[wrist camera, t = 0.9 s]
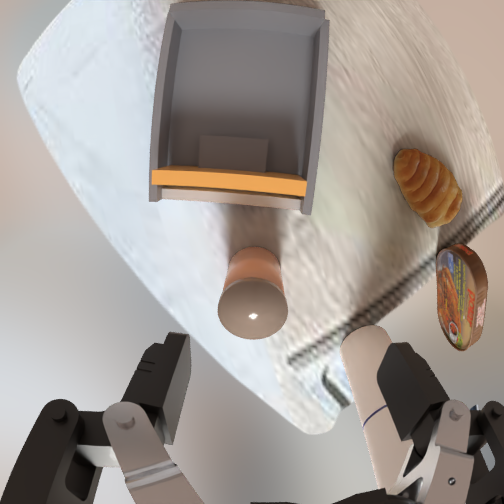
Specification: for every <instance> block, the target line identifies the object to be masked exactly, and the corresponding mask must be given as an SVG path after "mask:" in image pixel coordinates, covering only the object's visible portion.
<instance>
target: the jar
mask: <svg viewBox="0 0 504 504" xmlns="http://www.w3.org/2000/svg"><path fill="white" fill-rule="evenodd" d="M287 315H288V307H287V301H286V298H285V295H284V289H283V282H282V276H281V269H280V264H279V262H278V260H277V258H276V257H275V255H274V254H273V253H271V252H270V251H269V250H267V249H264V248H261V247H247V248H244V249H242V250H240V251H238V252H237V253H236V254H235V255H234V256H233V257H232V259H231V261H230V263H229V267H228V271H227V275H226V280H225V284H224V288H223V292H222V294H221V297H220V300H219V304H218V316H219V319H220V321H221V323H222V325H223V326H224V327H225V328H226V329H227V330H228V331H229V332H230V333H232V334H234V335H236V336H238V337H241V338H244V339H262V338H266V337H269V336H271V335H273V334H274V333H276V332H277V331H278V330H280V329H281V327H282V326H283V325H284V323H285V321H286V319H287Z"/></svg>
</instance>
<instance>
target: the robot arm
mask: <svg viewBox="0 0 504 504" xmlns="http://www.w3.org/2000/svg"><path fill="white" fill-rule="evenodd" d="M430 369H431V368H430V367H429V365H428V364H427V362H426V360H425V359H423V358H422V357H421V356H420V355H419V354H417V353H415V352H414V350H413V349H412V347H411V345H410V344H409V343H407V342H402V343H391V344H390V345H389V346H388V348H387V351H386V353H385V355H384V358H383V360H382V362H381V364H380V366H379V369H378V371H377V383H378V386H379V388H380V390H381V393H382V395H383V398H384V400H385V402H386V405H387V407H388V409H389V412H390V414H391V417H392V419H393V422H394V424H395V427H396V429H397V432H398V434H399V437H400V440H401V442H402V441H407V440H410V439H412V441H413V443H412V444H411V446H410V448H409V450H408V453H407V456H406V458H405V461H404V464H403V466H402V469H401V471H400V473H399V476H398V478H397V480H396V482H395V484H394V485H393V486H392V488H391V489H390V490H389V491H388V493H386V489H385V488H381V489H377V490H373V491H369V492H365V493H360V494H355V495H353V496H351V497H348V498H346V499H343V500H341V501H338V502H335V503H333V504H465V502H466V504H504V406H503V405H501V404H500V403H499V402H496V401H490V402H488V403H486V405H485V406H484V408H483V409H482V410H469V409H468V407H467V406H466V405H465V404H464V403H463V402H460V401H458V400H450V399H449V397H448V395H447V394H446V392H445V390H444V389H443V387H442V385H441V384H440V382H439V381H438V379H437V378H436V377H435V374H434V373H433V372H432V370H430ZM190 375H191V351H190V337H189V334H182V333H175V332H169V333H168V335H167V337H166V339H165V342H164V344H159V343H154V344H153V345H151V346H150V347H149V348H148V349H146V350H145V352H144V354H143V356H142V358H141V362H139V364H138V366H137V370H136V371H135V373H134V375H133V377H132V379H131V381H130V383H129V385H128V387H127V389H126V392H125V394H124V396H123V398H122V400H121V401H120V402H118V403H115V404H113V405H111V406H110V407H109V408H107V409H106V411H102V412H92V411H78V410H77V408H76V406H75V405H74V404H73V403H72V402H70V401H68V400H65V399H56V400H53V401H50V402H49V403H47V404H46V405H45V406H44V408H43V409H42V411H41V413H40V415H39V417H38V418H37V420H36V422H35V424H34V426H33V428H32V430H31V432H30V434H29V436H28V438H27V440H26V442H25V444H24V446H23V448H22V450H21V452H20V454H19V456H18V459H17V461H16V463H15V465H14V468H13V470H12V472H11V475H10V477H9V480H8V482H7V485H6V487H5V490H4V492H3V495H2V498H1V501H0V504H93V501H94V497H95V493H96V490H97V486H98V482H99V479H100V476H101V472H102V469H103V467H121V470H122V472H123V474H124V477H125V483H126V485H127V488H128V490H129V492H130V494H131V496H132V498H133V499H134V501H135V503H136V504H204V502H203V501H202V500H201V498H200V497H199V496H198V494H197V493H196V492H195V490H194V489H193V487H192V486H191V485H190V483H189V482H188V481H187V479H186V477H185V476H184V475H183V473H182V472H181V470H180V469H179V467H178V466H177V465H176V464H174V463H173V461H172V459H171V458H170V456H169V455H168V453H167V451H166V450H165V448H164V444H169V445H173V442H174V438H175V434H176V430H177V426H178V422H179V418H180V414H181V410H182V406H183V402H184V399H185V395H186V391H187V387H188V383H189V380H190ZM487 442H488V444H489V446H490V449H491V451H492V453H493V455H494V457H495V466H494V468H493V469H492V470H491V471H490V472H489V470H488V468H487V466H486V463H485V460H484V458H483V456H482V453H481V451H480V449H481V448H482V447H483V446H484V445H485V444H486V443H487ZM250 504H296V503H289V502H275V503H274V502H269V503H266V502H261V503H258V502H251V503H250Z"/></svg>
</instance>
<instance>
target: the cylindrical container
mask: <svg viewBox="0 0 504 504" xmlns="http://www.w3.org/2000/svg"><path fill="white" fill-rule="evenodd" d="M391 343H392V341H391V339H390V338H389V336H388V334H387V332H386V331H385V330H384V329H383V328H382V327H380V326H375V325H370V326H364V327H361V328H359V329H357V330H355V331H353V332H352V333H351V334H349V335H348V336H347V337H346V338H345V339H344V341H343V342H342V345H341V347H340V356H341V359H342V362H343V365H344V368H345V371H346V375H347V378H348V381H349V384H350V387H351V391H352V394H353V397H354V400H355V404H356V407H357V410H358V414H359V417H360V421H361V424H362V428H363V431H364V435H365V438H366V442H367V446H368V450H369V453H370V457H371V461H372V465H373V469H374V473H375V477H376V481H377V486H378V489H381V488H385V489H386V493H388V491H389V490H390V489H391V488H392V486H393V485H394V484H395V482H396V480H397V478H398V476H399V473H400V471H401V469H402V466H403V464H404V461H405V458H406V456H407V453H408V450H409V448H410V446H411V444H412V443H413V441H412V439H410V440H407V441H402V442H401V440H400V437H399V434H398V432H397V429H396V427H395V424H394V422H393V419H392V417H391V414H390V412H389V409H388V407H387V405H386V402H385V400H384V398H383V395H382V393H381V390H380V388H379V386H378V383H377V371H378V369H379V366H380V364H381V362H382V360H383V358H384V355H385V353H386V351H387V348H388V346H389V345H390V344H391Z"/></svg>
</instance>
